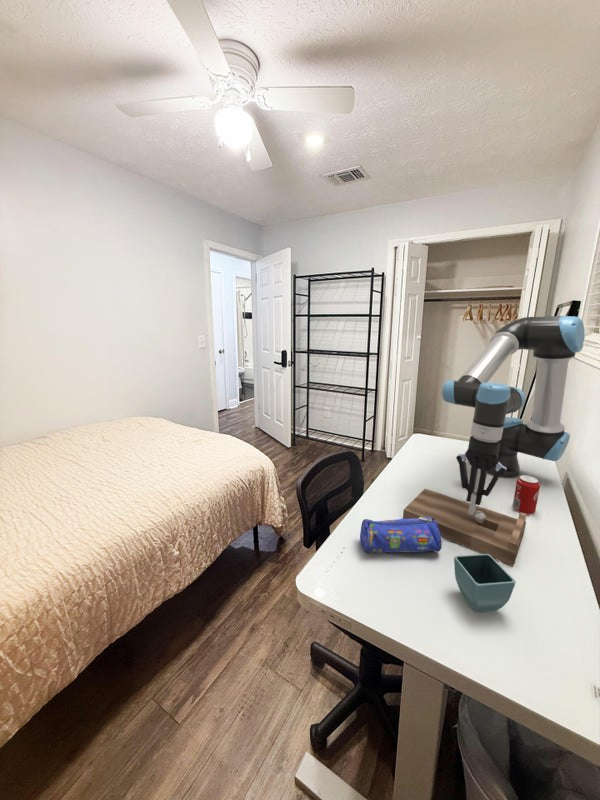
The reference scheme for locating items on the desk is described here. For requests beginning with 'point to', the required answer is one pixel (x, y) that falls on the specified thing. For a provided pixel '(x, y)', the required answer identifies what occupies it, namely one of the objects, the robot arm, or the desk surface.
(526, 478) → the beverage can
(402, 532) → the pencil case
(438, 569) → the desk surface
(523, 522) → the board
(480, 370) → the robot arm
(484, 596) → the flower pot
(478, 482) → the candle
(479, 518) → the ball
